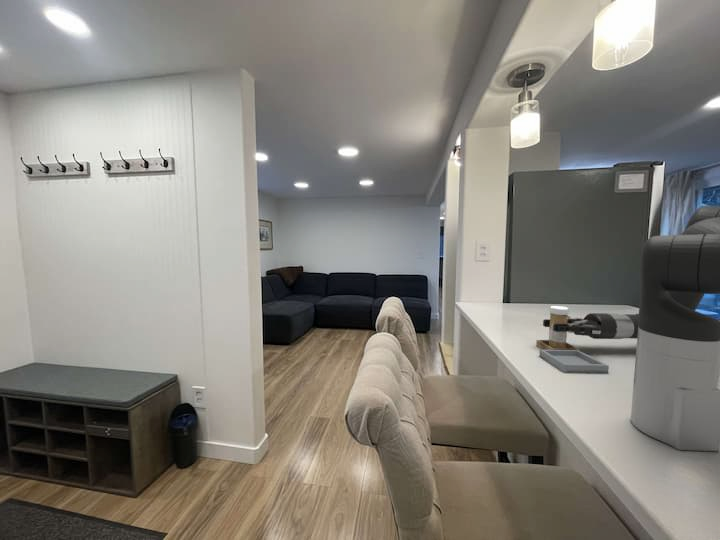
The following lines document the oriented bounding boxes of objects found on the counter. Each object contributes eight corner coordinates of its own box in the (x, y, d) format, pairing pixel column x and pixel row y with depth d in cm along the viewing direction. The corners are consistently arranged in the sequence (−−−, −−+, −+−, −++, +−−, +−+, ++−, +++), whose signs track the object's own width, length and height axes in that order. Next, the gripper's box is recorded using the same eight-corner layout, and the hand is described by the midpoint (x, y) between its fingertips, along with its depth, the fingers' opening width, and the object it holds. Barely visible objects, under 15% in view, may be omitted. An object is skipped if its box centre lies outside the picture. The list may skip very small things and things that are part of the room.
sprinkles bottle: (550, 347, 89) (552, 304, 88) (568, 351, 85) (570, 307, 84) (545, 350, 86) (547, 306, 85) (563, 354, 82) (565, 309, 81)
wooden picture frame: (579, 355, 81) (579, 349, 81) (551, 355, 82) (552, 348, 82) (561, 346, 89) (561, 340, 89) (536, 346, 90) (536, 339, 89)
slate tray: (608, 373, 70) (608, 365, 70) (564, 372, 71) (564, 364, 70) (577, 356, 81) (578, 350, 80) (539, 356, 81) (539, 349, 81)
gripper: (590, 308, 91) (535, 308, 92) (630, 319, 77) (565, 319, 78) (588, 331, 92) (534, 330, 92) (628, 346, 77) (563, 345, 78)
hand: (548, 325), depth 85 cm, fingers closed on sprinkles bottle, 4 cm apart
